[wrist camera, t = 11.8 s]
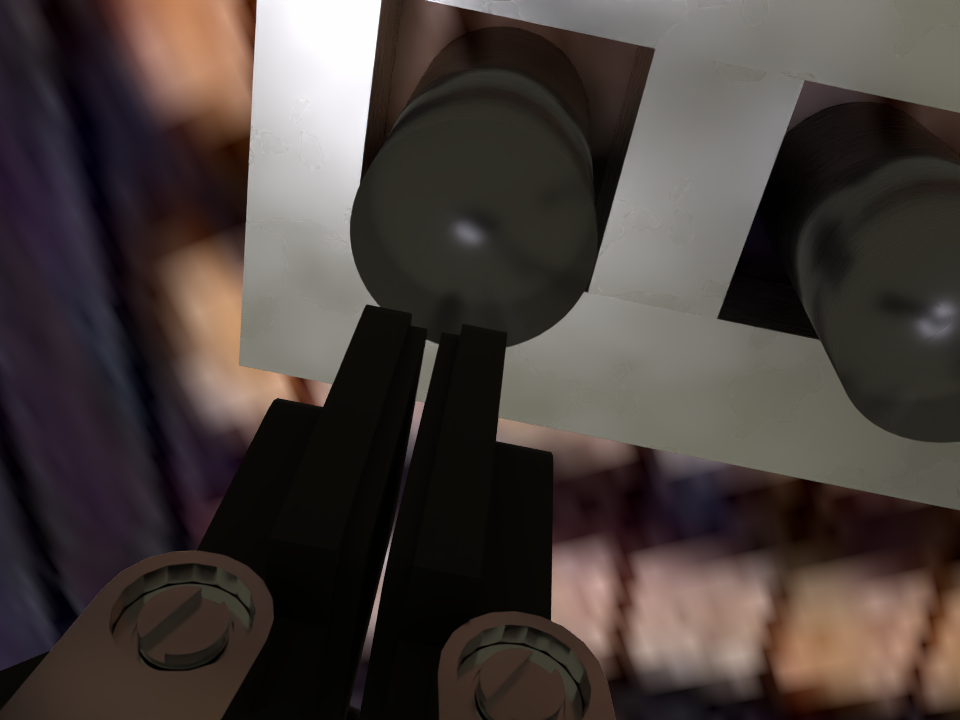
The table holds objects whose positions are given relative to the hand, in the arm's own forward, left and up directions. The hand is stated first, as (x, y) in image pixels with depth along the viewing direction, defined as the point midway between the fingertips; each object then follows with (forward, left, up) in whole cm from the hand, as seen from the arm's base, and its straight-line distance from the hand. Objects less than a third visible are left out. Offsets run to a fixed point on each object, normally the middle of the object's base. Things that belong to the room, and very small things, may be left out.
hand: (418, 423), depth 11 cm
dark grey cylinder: (0, 0, -14) cm, 14 cm away
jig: (-5, 0, -14) cm, 15 cm away
